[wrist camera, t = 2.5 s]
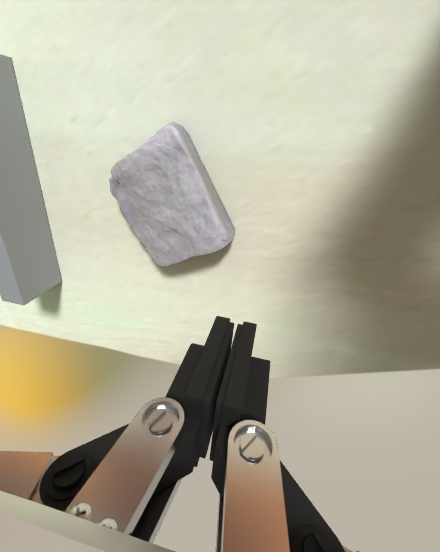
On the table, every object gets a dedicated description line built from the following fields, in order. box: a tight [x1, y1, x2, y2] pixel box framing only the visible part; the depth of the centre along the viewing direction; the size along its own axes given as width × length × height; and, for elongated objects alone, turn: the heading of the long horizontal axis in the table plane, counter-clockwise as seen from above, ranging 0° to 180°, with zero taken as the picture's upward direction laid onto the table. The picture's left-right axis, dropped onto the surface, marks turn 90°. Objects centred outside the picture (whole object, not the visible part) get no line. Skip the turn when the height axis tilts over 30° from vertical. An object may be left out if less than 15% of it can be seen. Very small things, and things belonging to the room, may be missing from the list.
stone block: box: [109, 122, 235, 266], centre depth 27 cm, size 12×5×10 cm
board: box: [0, 55, 62, 305], centre depth 28 cm, size 24×3×6 cm, turn 175°
